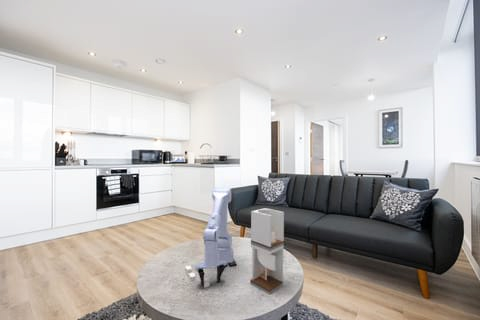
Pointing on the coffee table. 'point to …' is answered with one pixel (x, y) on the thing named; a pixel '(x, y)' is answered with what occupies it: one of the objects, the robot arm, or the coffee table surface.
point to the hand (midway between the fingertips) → (210, 283)
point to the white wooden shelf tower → (267, 249)
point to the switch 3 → (206, 283)
